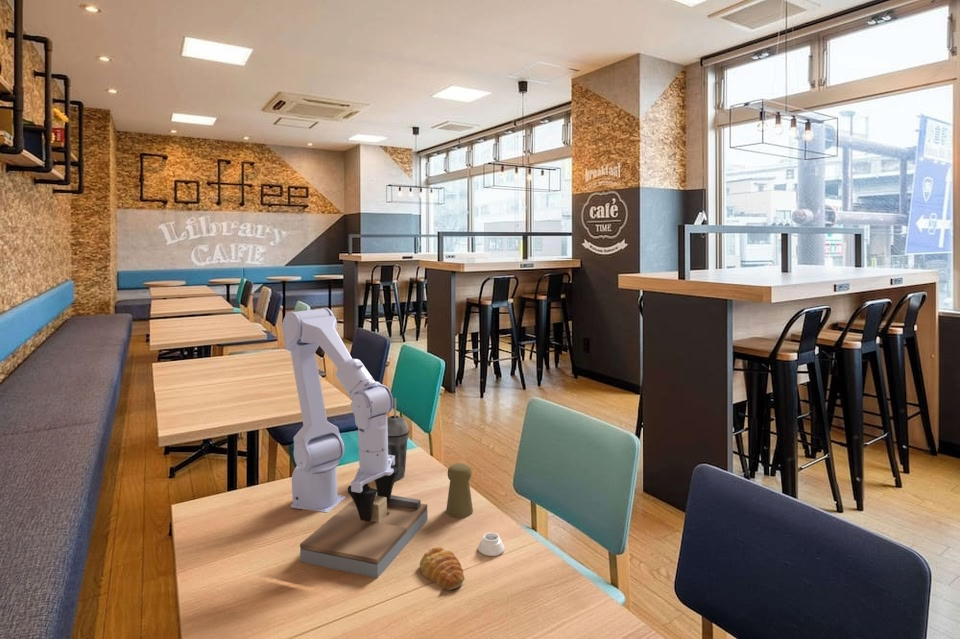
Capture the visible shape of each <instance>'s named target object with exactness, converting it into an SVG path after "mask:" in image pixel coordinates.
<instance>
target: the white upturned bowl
mask: <svg viewBox="0 0 960 639" xmlns="http://www.w3.org/2000/svg"><path fill="white" fill-rule="evenodd" d="M477 549H478V551H479V553H481V554H482V555H485V556H488V557H490V556H491V557H495V556H499V555H501V554H503V552H504V551H505V545H504V543H503V541H502V538H500V535H499V534H498V533H496V532H486V533H485V534H484V535H483V537H482V538H481V539H480V542H479V544H478V547H477Z"/></svg>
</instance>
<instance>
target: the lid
mask: <svg viewBox="0 0 960 639" xmlns="http://www.w3.org/2000/svg"><path fill="white" fill-rule="evenodd" d="M375 496H377V493H376V495H375ZM421 501H422V500H421V499H419V498H418V499H417V498H412V497H405V496H400V495H393V494H391V498H390V502H389V504H387V517H386V518H385V519H384V520H382V521H381V522H380V523H377V522H371V521H369V522H368V521H363V520H361V519H360V516H359V513H358V510H357V507H356V504H355V502H354V500H353V499H352V500H351V501H350V502H348V503H347V504H346V505H345V506H344V507H342V508H341V509H340V510H339V511H338V512H336V513H335V514H334V515H332V517H331V518H329V519H328V520H327V521H326V522H325V523H323V524H322V525H321V526H320V527H319V528H317V529H316V530H315V531H314V532H312V533H311V534H310V535H309V536H307V538H305V539H304V540H303V541H302V542H300V543H299V549H301V548H302V549H307V550H312V551H317V552H322V553H327V554H332V555H337V556H342V557H347V558H352V559H357V560H362V561H367V562H372V563H376V564H378V563H379V562H380V560H381V559H382V558H383V557H384V556H385V555H386V554H387V553H388V552H389V550H390V549H391V548H392V547H393V546H394V545H395V544H396V543H397V542H398V540H399V539H400V538H401V537H402V536H403V535H404V534H405V533H406V532H407V530H408V529H409V528H410V527H411V526H412V525H413V524H414V523H415V522H416V520H417V519H418V518H419V517H420V516H421V515H422V514H423V513H424V511H425V510H426V509H427V510H428V504H427V503H426V504H425V503H422V502H421Z"/></svg>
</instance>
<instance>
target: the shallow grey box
mask: <svg viewBox="0 0 960 639" xmlns="http://www.w3.org/2000/svg"><path fill="white" fill-rule="evenodd" d="M427 522H428V508H427V509H426V510H425V511H424V513H423V514H422V515H421V516H420V517H419V518H418V519H417V520H416V522H415V523H414V524H413V525H412V526H411V527H410V528H409V529H408V530H407V532H406V533H405V534H404V535H403V536H402V537H401V538H400V539H399V540H398V542H397V543H396V544H395V545H394V546H393V547H392V548H391V549H390V550H389V552H388V553H387V554H386V555H385V556H384V557H383V558H382V559H381V560H380V562H379V563H378V564H376V563H372V562H367V561H362V560H357V559H352V558H347V557H342V556H337V555H332V554H327V553H322V552H317V551H312V550H307V549H302V548H299V549H300V550H299V551H300V553H299V556H300V557H299V558H300V562H301V563H306V564H309V565H314V566H319V567H325V568H328V569H332V570H339V571H343V572H347V573H353V574H356V575H357V574H358V575H362V576H367V577H371V578H374V579H375V578H376V579H378V578H380V576H381V575H382V574H383V573H384V572H385V571H386V570H387V568H388V567H389V566H390V565H391V564H392V563H393V562H394V561H395V559H396V558H397V557H398V556H399V554H400V553H401V552H402V551H403V549H405V547H406V546H407V545H408V544H409V543H410V541H412V540H413V539H414V537H415V535H417V533H418V532H419V531H420V530H421V529H422V528H423V527H424V525H425V524H426V523H427Z"/></svg>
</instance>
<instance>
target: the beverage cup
mask: <svg viewBox="0 0 960 639" xmlns="http://www.w3.org/2000/svg"><path fill="white" fill-rule="evenodd" d="M387 425H388V455H393V456H395V465H393V466H392V467H396V468H398V469H399V473H398V475H397V477H396V479H395V481H397V480H402V479H403V478H405V474H406V464H407V449H408V440H409V437H410V436H409V434H410V430H409V426H408V423H407V421H406V420H405V419H404V418H403V417H401V416H399V415H397V397H393V415H391V416H387Z"/></svg>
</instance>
